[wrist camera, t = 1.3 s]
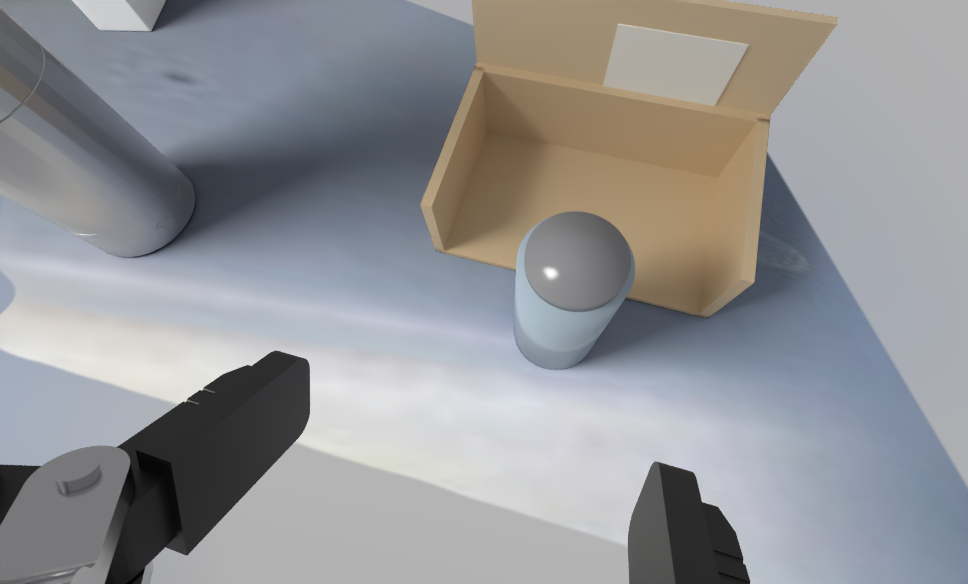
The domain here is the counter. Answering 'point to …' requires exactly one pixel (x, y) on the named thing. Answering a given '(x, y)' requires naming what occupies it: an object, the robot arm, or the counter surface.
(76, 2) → the milk
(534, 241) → the canister
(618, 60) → the mailer
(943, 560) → the counter surface
